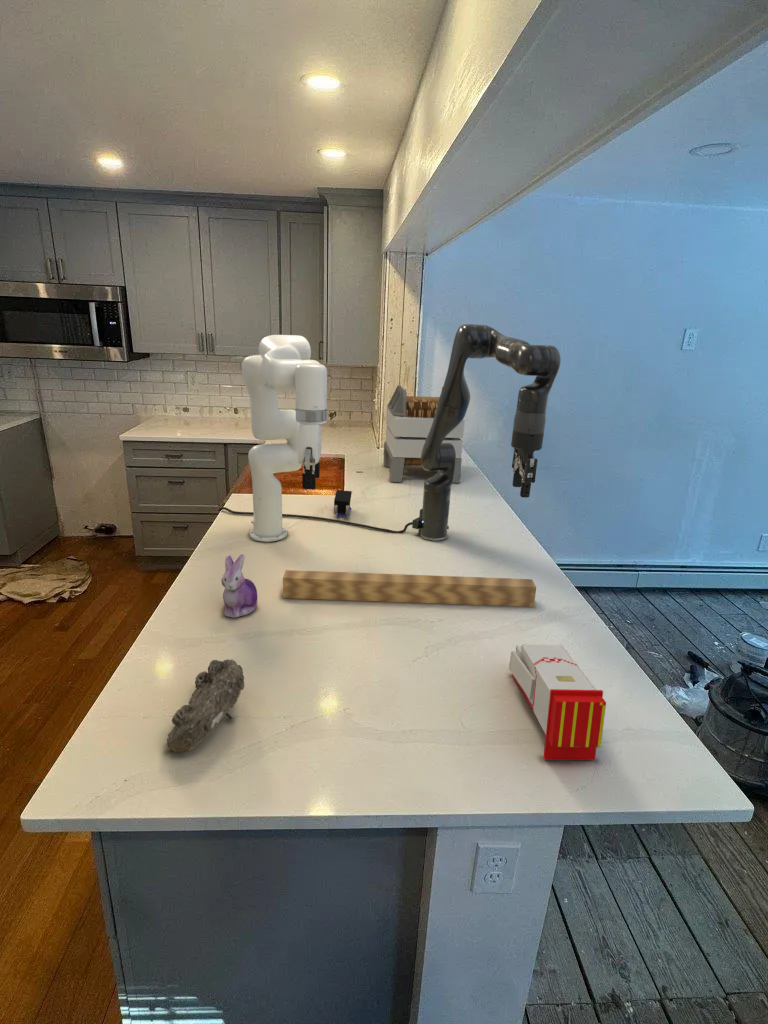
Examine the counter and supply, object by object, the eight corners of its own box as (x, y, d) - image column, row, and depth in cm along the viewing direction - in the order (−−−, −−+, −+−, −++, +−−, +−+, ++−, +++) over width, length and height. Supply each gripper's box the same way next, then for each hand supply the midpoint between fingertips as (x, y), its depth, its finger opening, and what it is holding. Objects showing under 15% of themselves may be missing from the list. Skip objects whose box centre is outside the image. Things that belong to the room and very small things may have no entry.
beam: (529, 598, 159) (532, 579, 157) (533, 607, 154) (536, 587, 152) (285, 589, 157) (285, 569, 155) (283, 598, 153) (282, 577, 151)
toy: (558, 627, 126) (616, 698, 97) (552, 682, 129) (607, 767, 99) (504, 626, 126) (545, 697, 96) (499, 681, 128) (538, 766, 99)
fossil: (192, 660, 117) (244, 628, 112) (224, 691, 120) (276, 661, 115) (142, 746, 98) (202, 712, 93) (182, 779, 101) (242, 748, 96)
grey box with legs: (382, 463, 289) (386, 382, 275) (445, 464, 293) (451, 384, 279) (390, 482, 257) (394, 392, 243) (460, 483, 261) (468, 394, 247)
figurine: (226, 622, 140) (223, 567, 134) (217, 603, 148) (214, 551, 143) (264, 615, 144) (262, 561, 139) (253, 597, 152) (251, 545, 147)
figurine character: (350, 524, 210) (352, 506, 224) (350, 505, 207) (352, 488, 220) (332, 523, 210) (335, 505, 224) (332, 505, 207) (335, 488, 220)
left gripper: (300, 409, 146) (300, 473, 152) (290, 421, 130) (291, 493, 136) (329, 410, 146) (328, 474, 152) (323, 423, 130) (322, 494, 136)
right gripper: (507, 423, 146) (500, 483, 152) (520, 434, 133) (512, 500, 138) (536, 424, 146) (528, 484, 152) (552, 436, 133) (542, 501, 139)
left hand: (311, 483), depth 144 cm, fingers open, 9 cm apart
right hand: (520, 491), depth 145 cm, fingers open, 8 cm apart
